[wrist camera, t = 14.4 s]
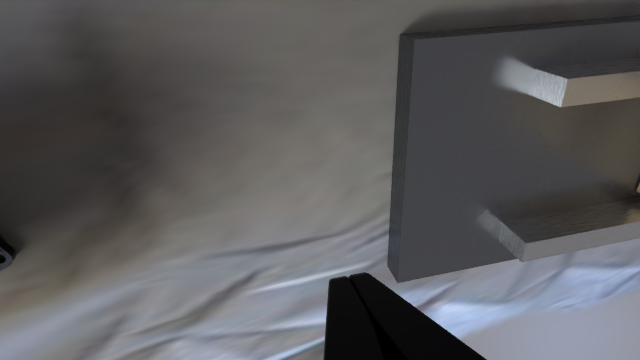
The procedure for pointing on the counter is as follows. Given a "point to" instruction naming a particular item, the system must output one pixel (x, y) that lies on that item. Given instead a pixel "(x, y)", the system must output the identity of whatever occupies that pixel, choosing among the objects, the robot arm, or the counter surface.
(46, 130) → the counter surface
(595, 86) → the chute
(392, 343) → the robot arm
